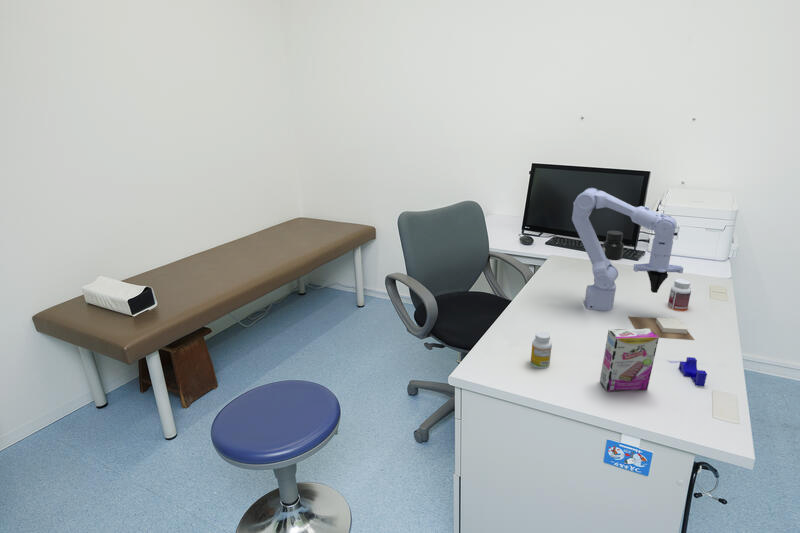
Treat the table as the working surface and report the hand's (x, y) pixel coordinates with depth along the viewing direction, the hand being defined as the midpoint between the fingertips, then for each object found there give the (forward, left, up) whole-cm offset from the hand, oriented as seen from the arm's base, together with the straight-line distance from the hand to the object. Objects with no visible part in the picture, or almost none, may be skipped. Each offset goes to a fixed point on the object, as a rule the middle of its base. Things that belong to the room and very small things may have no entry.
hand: (653, 291), depth 155 cm
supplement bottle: (-39, -34, -11) cm, 53 cm away
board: (+1, -8, -10) cm, 13 cm away
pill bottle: (+12, +9, -11) cm, 18 cm away
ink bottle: (+2, +64, -11) cm, 65 cm away
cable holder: (+1, -35, -11) cm, 36 cm away
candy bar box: (-18, -42, -11) cm, 47 cm away
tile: (+1, -8, -9) cm, 12 cm away
